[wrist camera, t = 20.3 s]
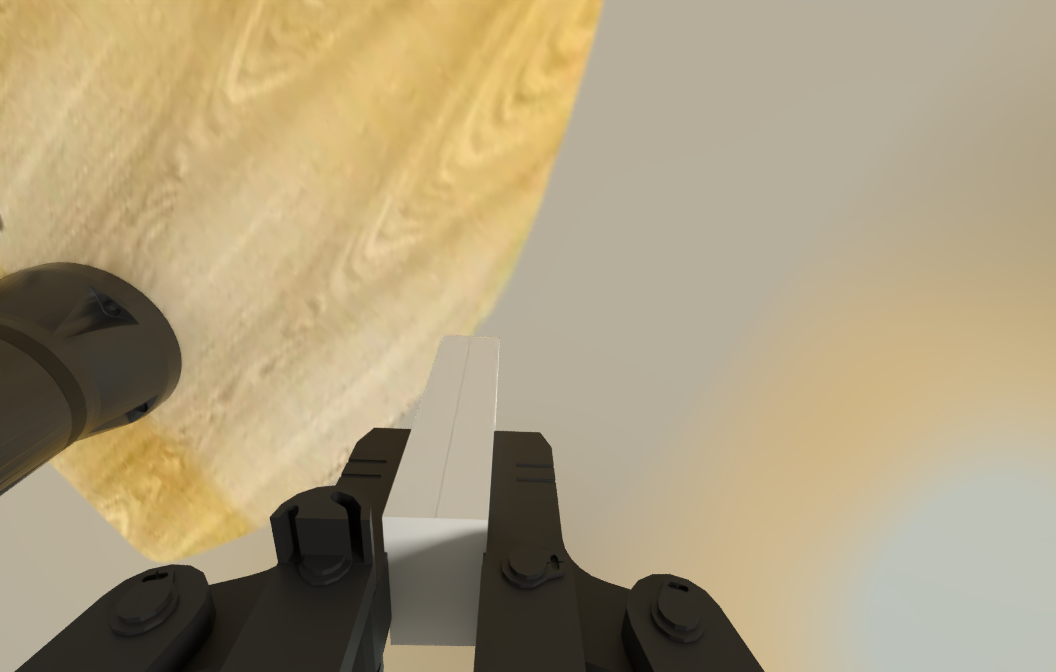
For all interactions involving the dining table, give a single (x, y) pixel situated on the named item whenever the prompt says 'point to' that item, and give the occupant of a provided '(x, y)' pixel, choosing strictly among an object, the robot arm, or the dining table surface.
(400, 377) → the dining table surface
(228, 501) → the dining table surface
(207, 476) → the dining table surface
